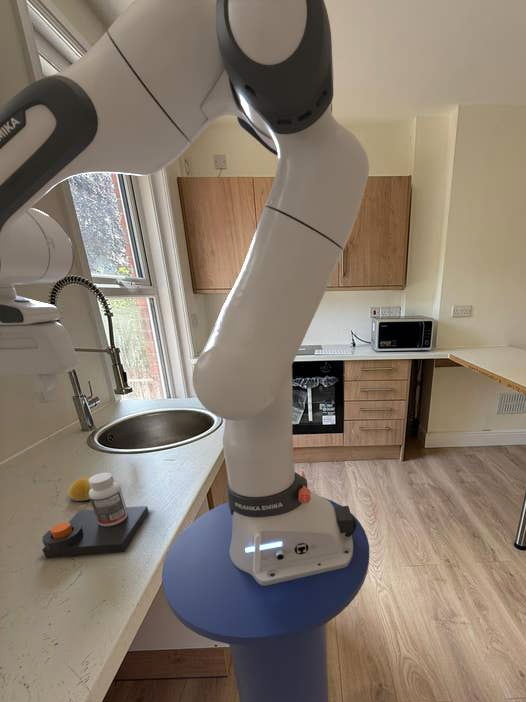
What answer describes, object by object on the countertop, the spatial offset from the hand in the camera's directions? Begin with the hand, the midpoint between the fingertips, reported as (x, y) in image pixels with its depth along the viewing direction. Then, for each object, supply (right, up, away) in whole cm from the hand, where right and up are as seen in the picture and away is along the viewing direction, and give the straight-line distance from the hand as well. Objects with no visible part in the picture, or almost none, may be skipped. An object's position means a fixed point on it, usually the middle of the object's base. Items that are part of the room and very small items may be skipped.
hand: (17, 402), depth 55 cm
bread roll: (-7, -20, +29) cm, 35 cm away
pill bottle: (+6, -23, +16) cm, 28 cm away
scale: (+4, -25, +15) cm, 29 cm away
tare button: (0, -24, +10) cm, 26 cm away
